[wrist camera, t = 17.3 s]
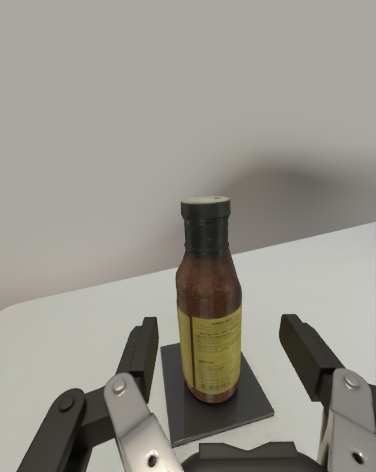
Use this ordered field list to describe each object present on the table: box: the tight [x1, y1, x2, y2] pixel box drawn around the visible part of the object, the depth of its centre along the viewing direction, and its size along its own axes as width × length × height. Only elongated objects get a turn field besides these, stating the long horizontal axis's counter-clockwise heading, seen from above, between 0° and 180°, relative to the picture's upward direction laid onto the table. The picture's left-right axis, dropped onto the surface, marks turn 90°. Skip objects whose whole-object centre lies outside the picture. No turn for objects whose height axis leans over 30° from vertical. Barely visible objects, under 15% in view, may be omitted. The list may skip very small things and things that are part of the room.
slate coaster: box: [160, 343, 274, 447], centre depth 22 cm, size 10×10×1 cm
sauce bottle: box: [176, 196, 242, 403], centre depth 19 cm, size 6×6×20 cm
